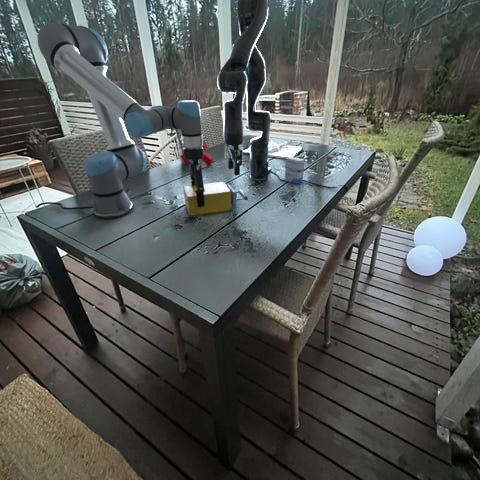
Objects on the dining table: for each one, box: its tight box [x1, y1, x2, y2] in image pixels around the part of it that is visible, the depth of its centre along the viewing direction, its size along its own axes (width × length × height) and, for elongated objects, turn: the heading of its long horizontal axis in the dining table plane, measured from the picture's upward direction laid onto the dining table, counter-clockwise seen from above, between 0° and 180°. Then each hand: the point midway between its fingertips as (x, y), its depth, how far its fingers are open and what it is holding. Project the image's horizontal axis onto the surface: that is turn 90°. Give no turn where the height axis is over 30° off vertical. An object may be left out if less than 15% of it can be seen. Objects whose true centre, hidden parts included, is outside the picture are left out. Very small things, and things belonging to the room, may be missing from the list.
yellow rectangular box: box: [183, 181, 232, 218], centre depth 114 cm, size 17×11×9 cm, turn 108°
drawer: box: [226, 183, 249, 209], centre depth 116 cm, size 22×10×7 cm, turn 108°
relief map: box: [242, 138, 304, 160], centre depth 192 cm, size 27×35×5 cm
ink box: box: [284, 156, 306, 185], centre depth 140 cm, size 8×5×12 cm, turn 47°
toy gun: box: [180, 139, 215, 167], centre depth 167 cm, size 18×4×15 cm
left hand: (198, 200), depth 113 cm, fingers closed on yellow rectangular box, 11 cm apart
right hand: (233, 171), depth 114 cm, fingers open, 8 cm apart
